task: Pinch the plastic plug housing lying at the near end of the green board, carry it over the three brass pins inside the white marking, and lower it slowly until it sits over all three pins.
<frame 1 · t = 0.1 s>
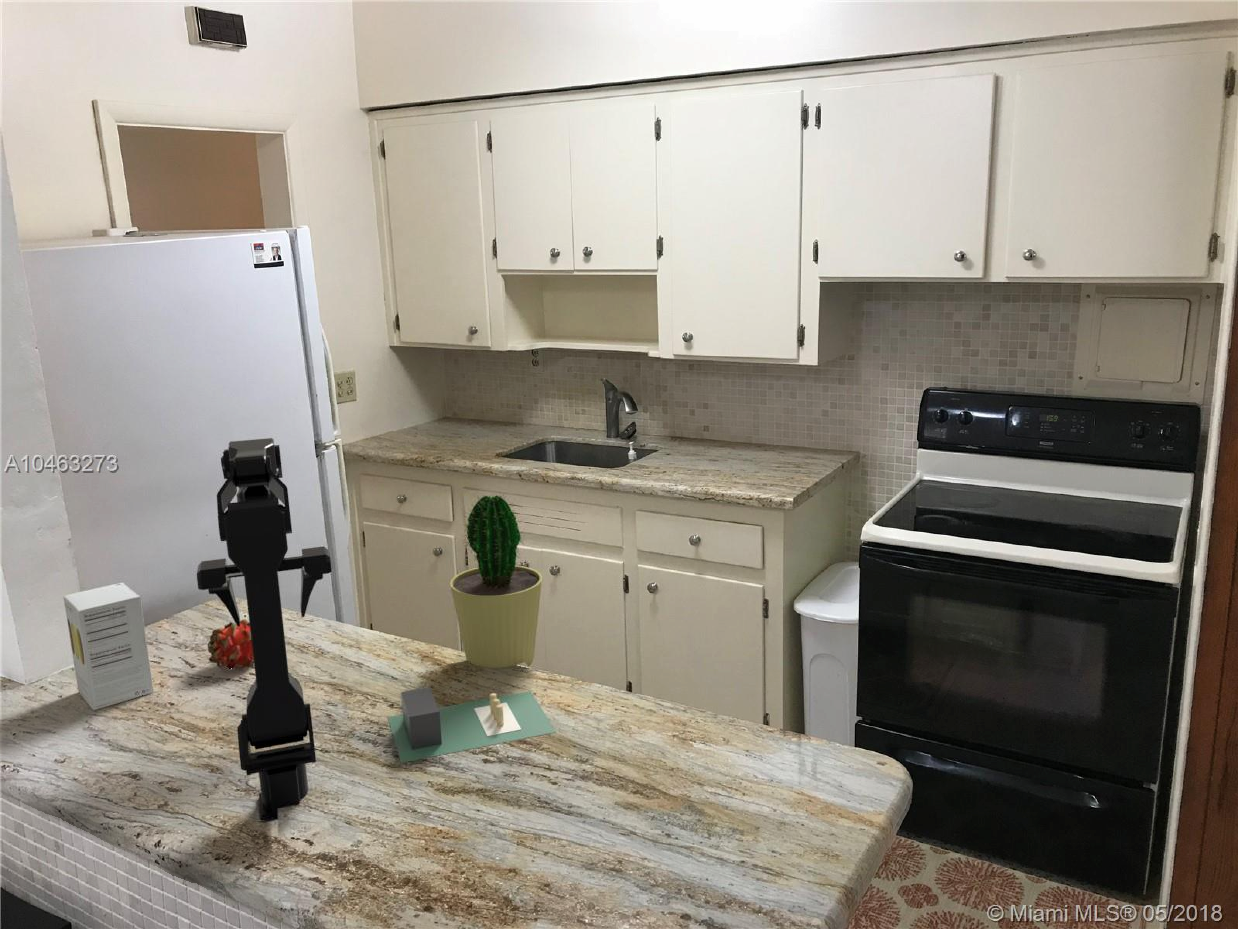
hand: (271, 620, 148), 15 cm above the table, tool pointing down, fingers open, 9 cm apart
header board: (470, 733, 143), on the table
plug housing: (422, 733, 140), point 1 cm above the table, touching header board
potted cactus: (501, 662, 167), on the table
dragon fruit: (240, 664, 169), on the table
supplement box: (116, 693, 159), on the table
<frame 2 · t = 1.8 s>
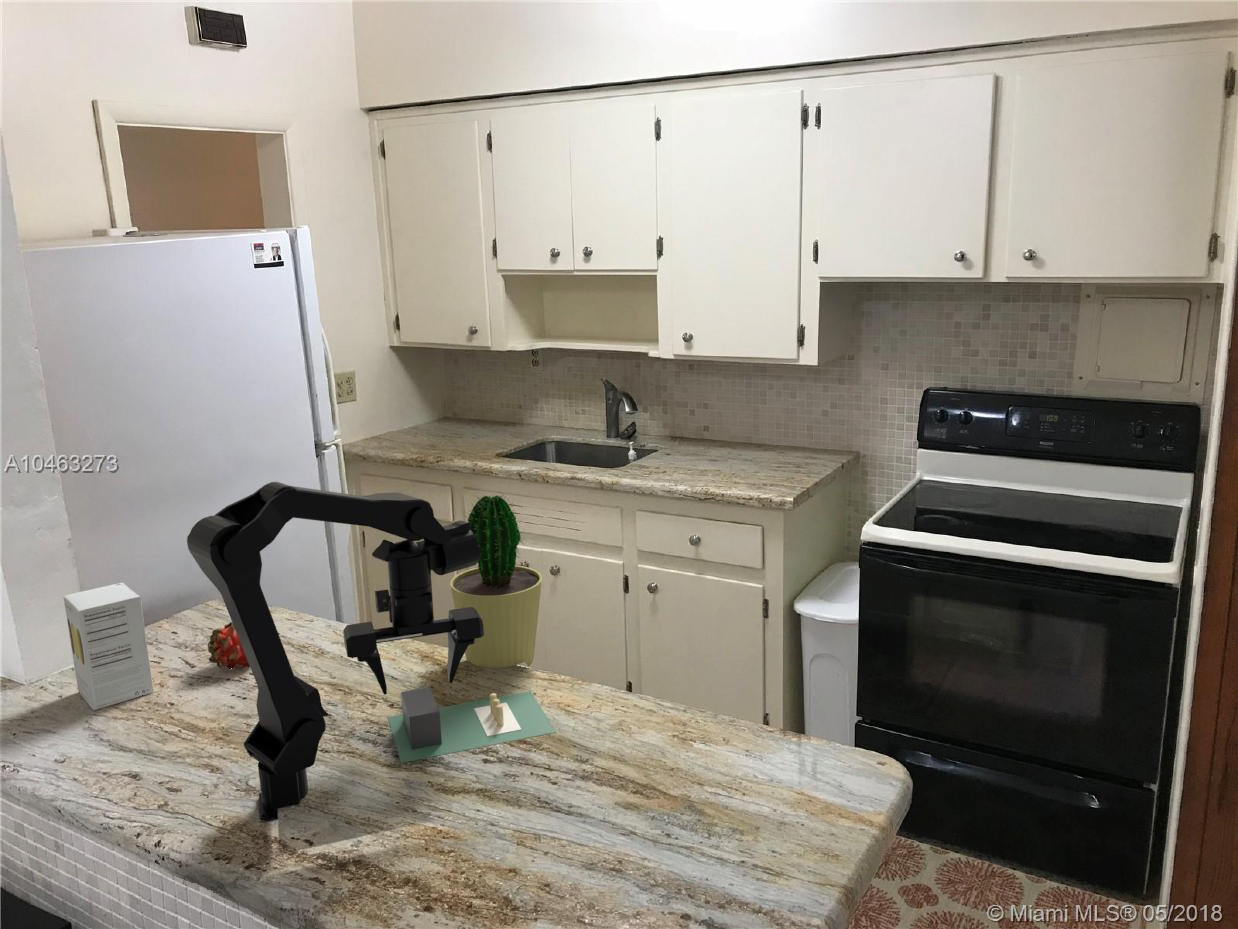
hand: (417, 687, 138), 9 cm above the table, tool pointing down, fingers open, 9 cm apart
nothing on the table moved.
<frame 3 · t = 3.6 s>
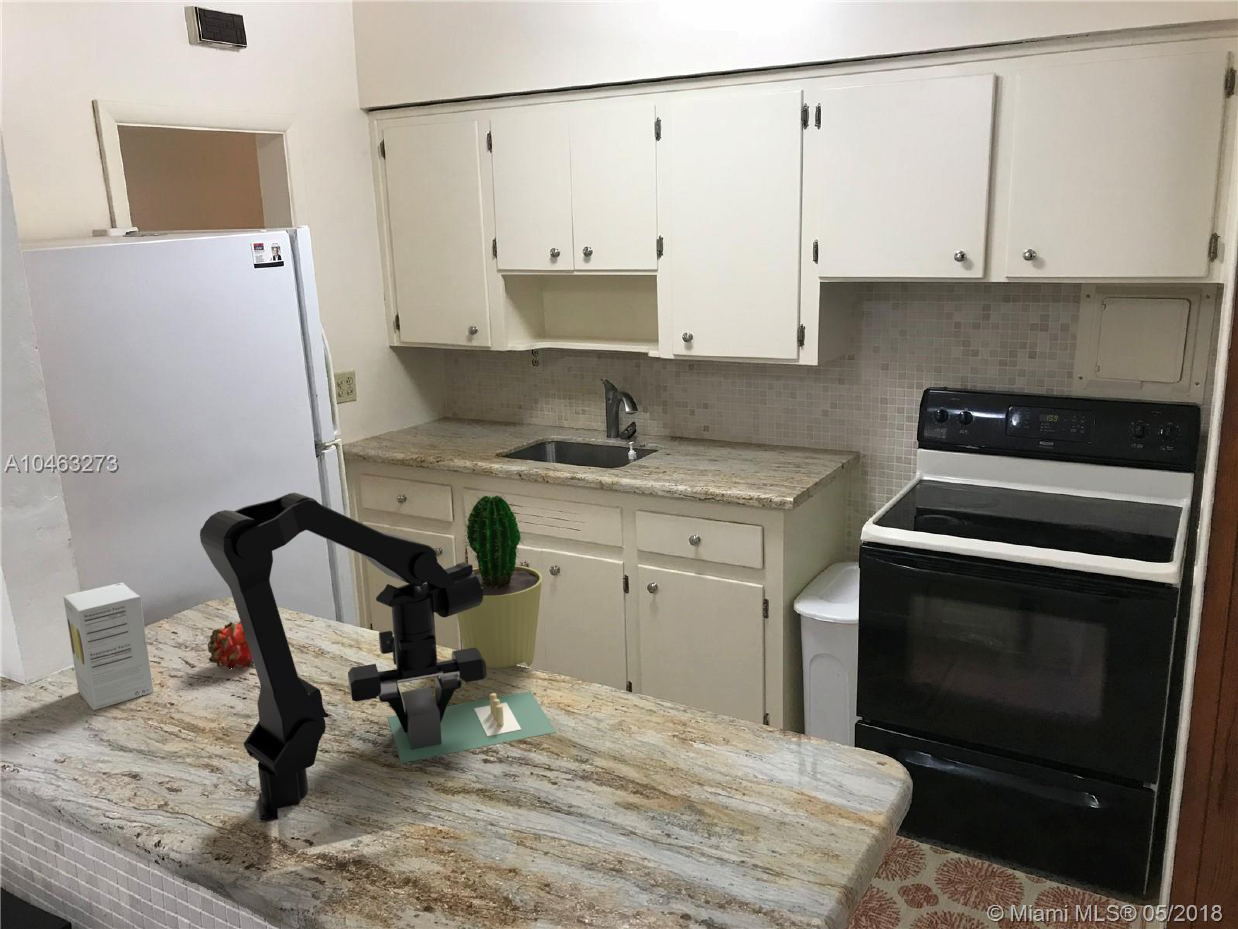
hand: (421, 728, 140), 2 cm above the table, tool pointing down, fingers closed on plug housing, 4 cm apart
plug housing: (422, 733, 140), point 2 cm above the table, touching gripper, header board
everything else where it was.
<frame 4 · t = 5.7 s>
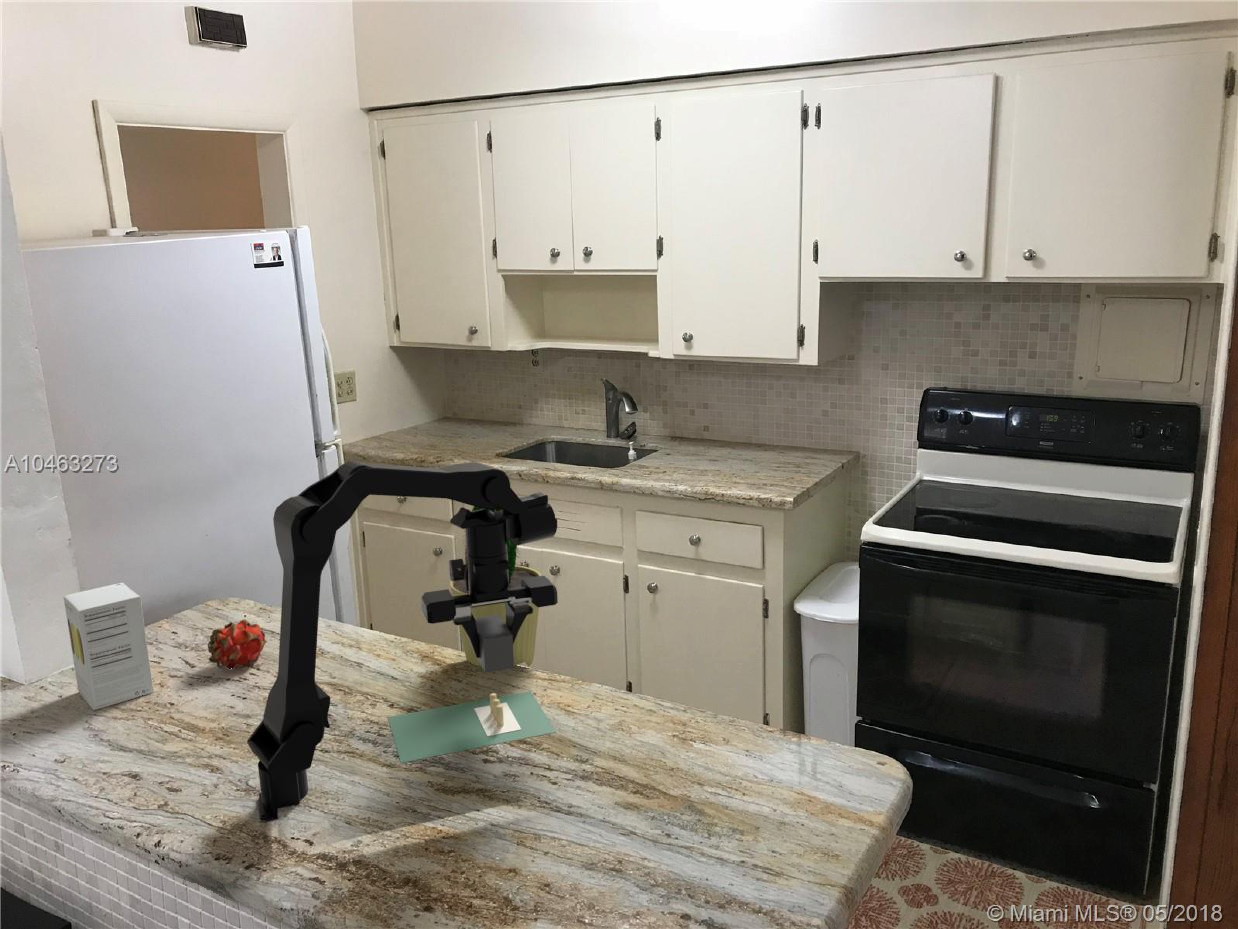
hand: (492, 654, 141), 12 cm above the table, tool pointing down, fingers closed on plug housing, 4 cm apart
plug housing: (493, 659, 141), point 11 cm above the table, touching gripper
everything else where it was.
when the fingers open (2 cm above the table, at t = 8.3 s): plug housing stays where it is, resting on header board.
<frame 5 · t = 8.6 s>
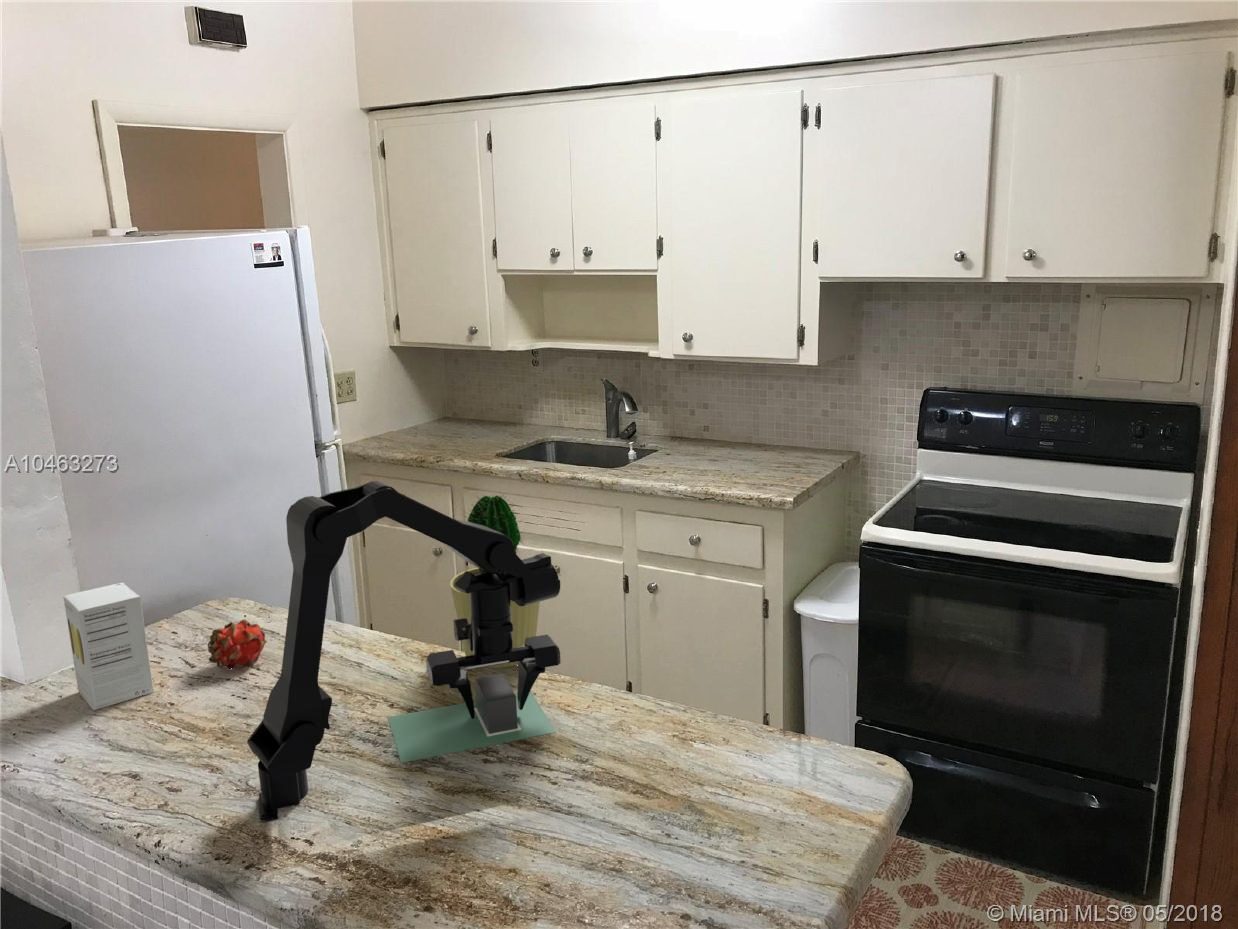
hand: (496, 713, 143), 2 cm above the table, tool pointing down, fingers open, 7 cm apart
plug housing: (496, 718, 144), point 2 cm above the table, touching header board
everything else where it was.
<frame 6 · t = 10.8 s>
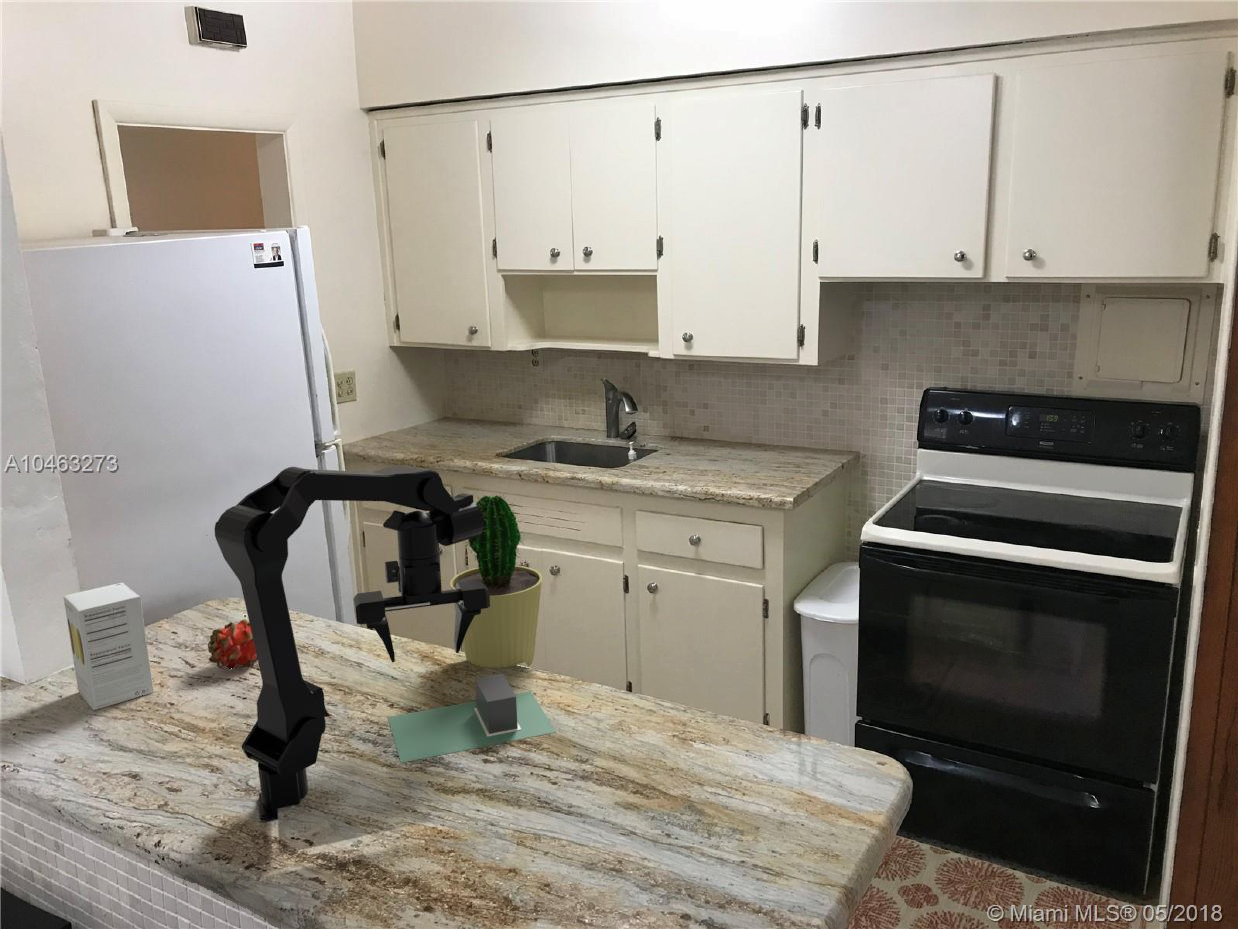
hand: (425, 656, 142), 12 cm above the table, tool pointing down, fingers open, 9 cm apart
nothing on the table moved.
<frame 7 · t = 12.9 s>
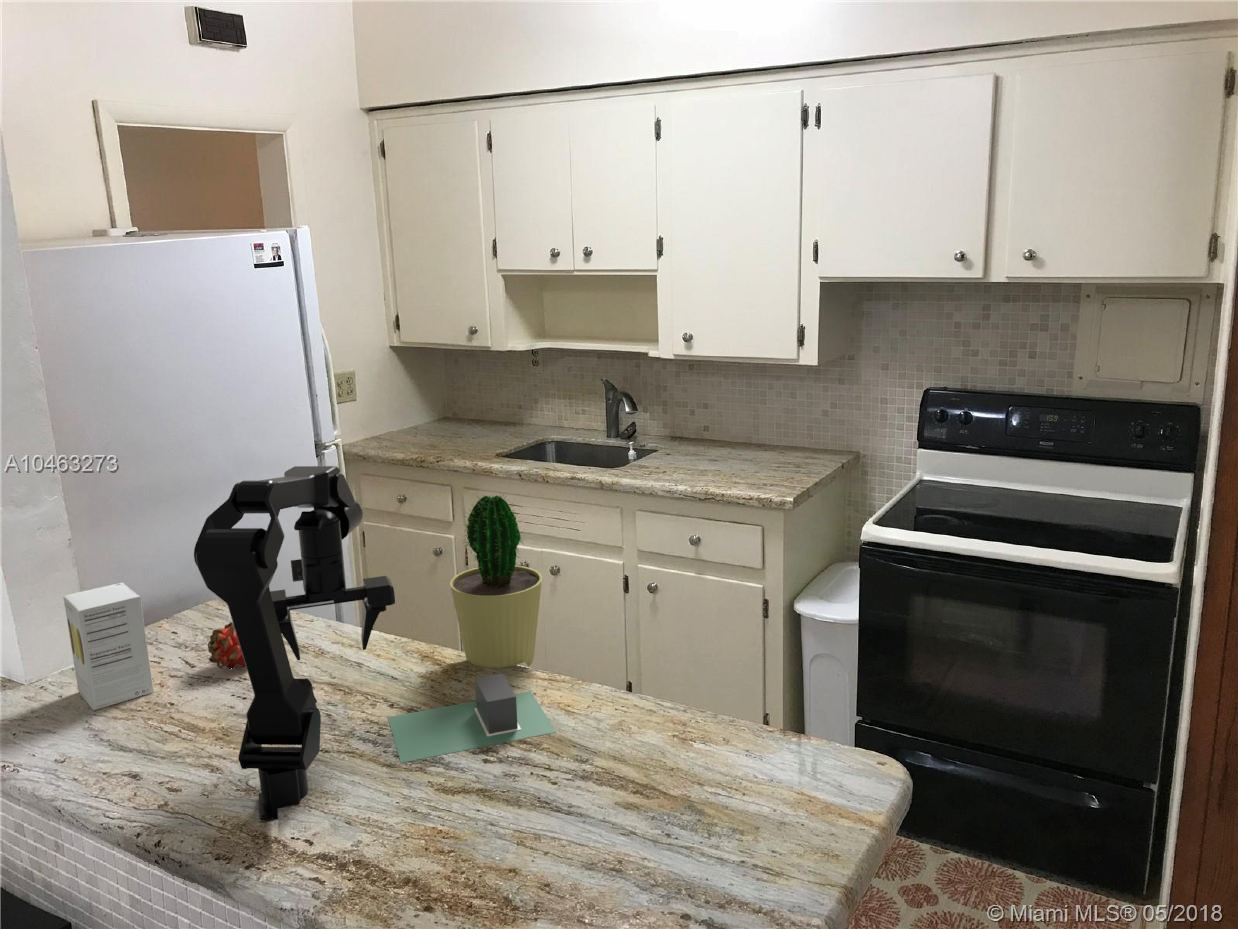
hand: (331, 654, 142), 12 cm above the table, tool pointing down, fingers open, 9 cm apart
nothing on the table moved.
at the end: plug housing 0.0 cm from the target spot on the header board, point 1.6 cm above the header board's base; plug housing tilted 0°; the gripper is holding nothing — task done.
